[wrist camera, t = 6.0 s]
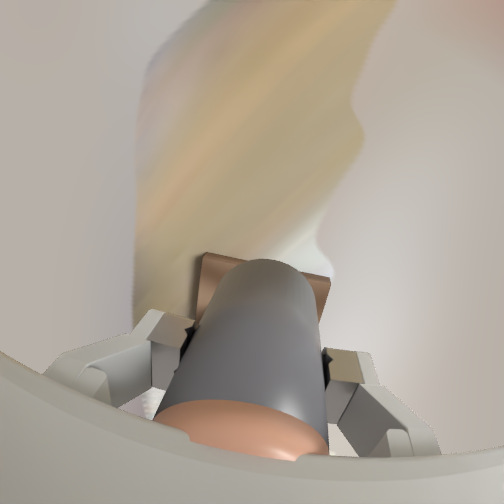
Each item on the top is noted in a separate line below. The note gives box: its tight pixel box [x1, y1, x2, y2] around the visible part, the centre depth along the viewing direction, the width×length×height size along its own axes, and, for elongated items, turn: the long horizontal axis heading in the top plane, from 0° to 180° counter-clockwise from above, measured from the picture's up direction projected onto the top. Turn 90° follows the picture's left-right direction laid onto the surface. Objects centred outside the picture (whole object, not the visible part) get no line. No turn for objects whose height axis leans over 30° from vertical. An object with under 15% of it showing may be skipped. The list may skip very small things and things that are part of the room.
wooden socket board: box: [195, 252, 331, 329], centre depth 31 cm, size 16×12×4 cm
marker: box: [152, 259, 329, 461], centre depth 9 cm, size 4×4×8 cm
